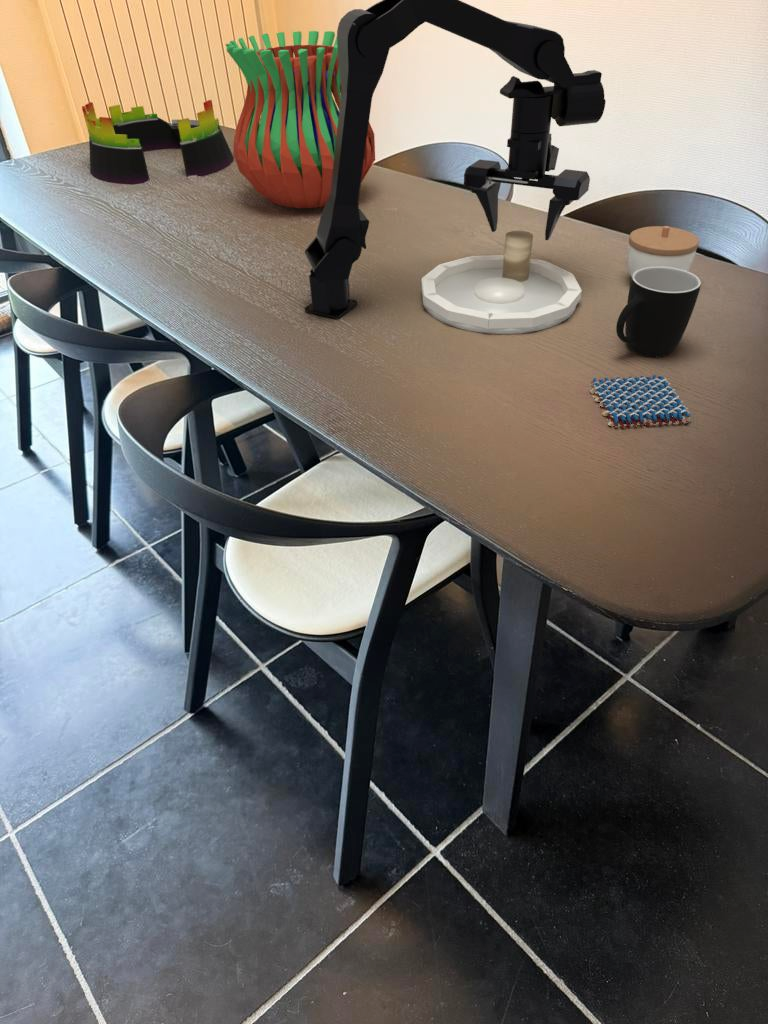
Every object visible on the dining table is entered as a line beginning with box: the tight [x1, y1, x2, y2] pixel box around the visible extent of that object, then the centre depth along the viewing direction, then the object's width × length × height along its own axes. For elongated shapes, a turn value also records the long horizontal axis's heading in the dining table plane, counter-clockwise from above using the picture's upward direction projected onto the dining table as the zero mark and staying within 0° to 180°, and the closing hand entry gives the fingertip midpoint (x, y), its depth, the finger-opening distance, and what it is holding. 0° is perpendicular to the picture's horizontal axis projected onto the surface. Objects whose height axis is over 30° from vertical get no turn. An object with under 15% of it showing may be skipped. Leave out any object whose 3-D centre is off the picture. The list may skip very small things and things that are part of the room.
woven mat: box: [587, 374, 691, 429], centre depth 90 cm, size 10×11×2 cm
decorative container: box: [81, 99, 235, 186], centre depth 180 cm, size 37×37×15 cm
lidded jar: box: [626, 225, 700, 278], centre depth 116 cm, size 11×11×9 cm
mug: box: [615, 266, 702, 358], centre depth 98 cm, size 12×9×10 cm
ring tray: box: [420, 254, 583, 335], centre depth 115 cm, size 25×25×2 cm
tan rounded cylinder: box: [502, 230, 534, 282], centre depth 118 cm, size 4×4×7 cm
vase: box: [225, 30, 376, 209], centre depth 149 cm, size 30×30×30 cm
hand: (520, 235), depth 116 cm, fingers open, 9 cm apart
